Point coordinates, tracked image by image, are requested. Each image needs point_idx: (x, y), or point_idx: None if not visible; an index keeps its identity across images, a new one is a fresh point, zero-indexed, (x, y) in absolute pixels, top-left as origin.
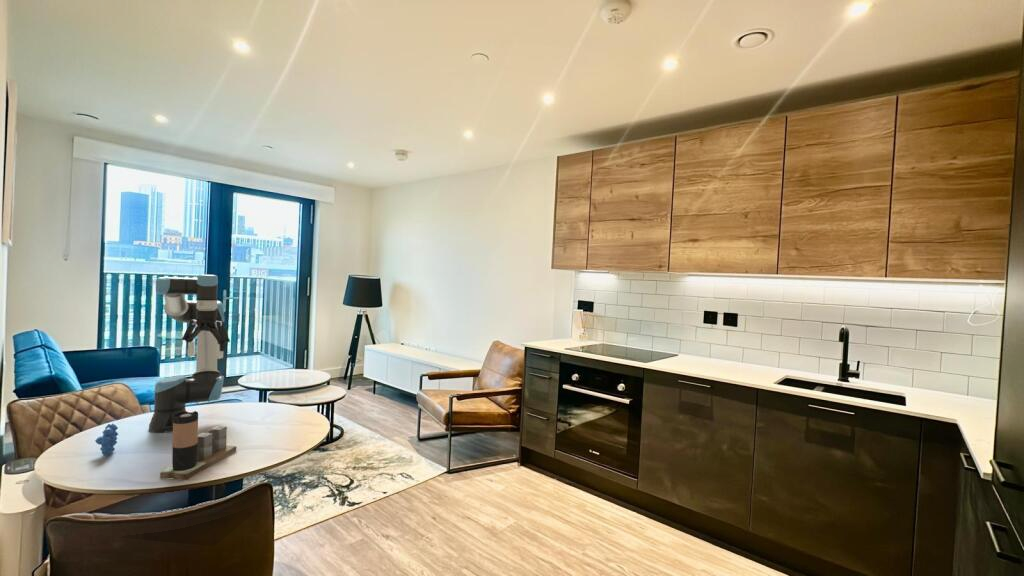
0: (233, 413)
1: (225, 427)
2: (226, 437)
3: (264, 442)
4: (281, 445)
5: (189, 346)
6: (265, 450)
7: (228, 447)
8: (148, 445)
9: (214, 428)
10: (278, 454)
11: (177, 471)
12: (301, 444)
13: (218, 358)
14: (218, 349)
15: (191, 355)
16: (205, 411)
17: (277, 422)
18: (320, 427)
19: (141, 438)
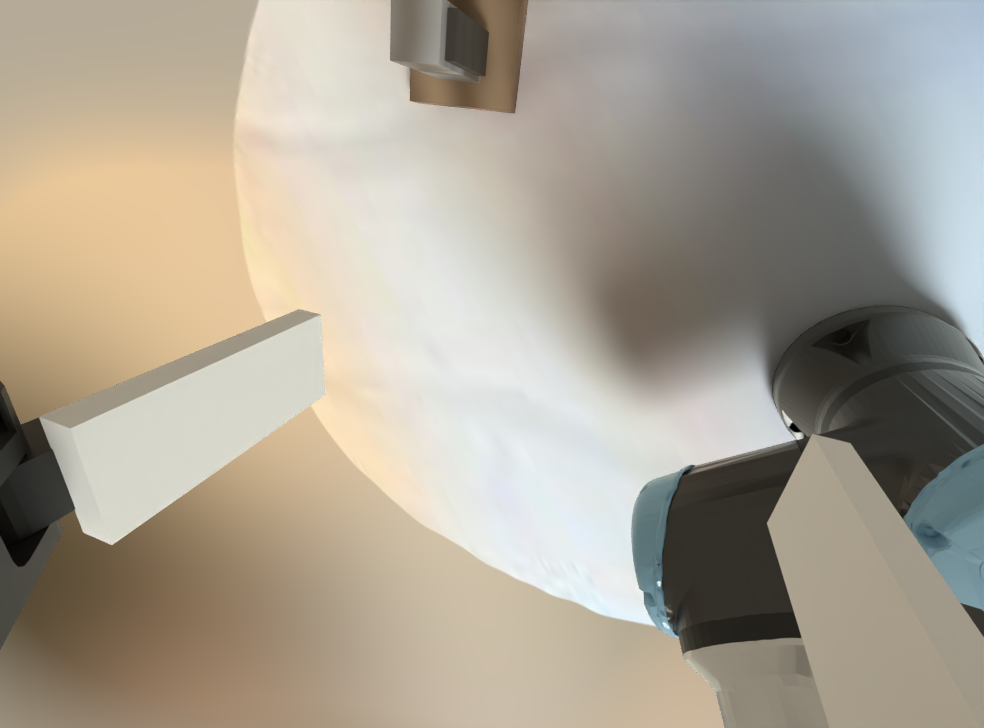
0: None
1: (391, 48)
2: (418, 70)
3: (371, 203)
4: (304, 177)
5: (918, 612)
6: (326, 122)
7: (432, 82)
8: (857, 128)
9: (428, 11)
10: (266, 87)
11: None
12: (252, 192)
13: (296, 311)
14: (174, 366)
15: (797, 488)
16: None
17: (433, 406)
18: None
19: (951, 225)
